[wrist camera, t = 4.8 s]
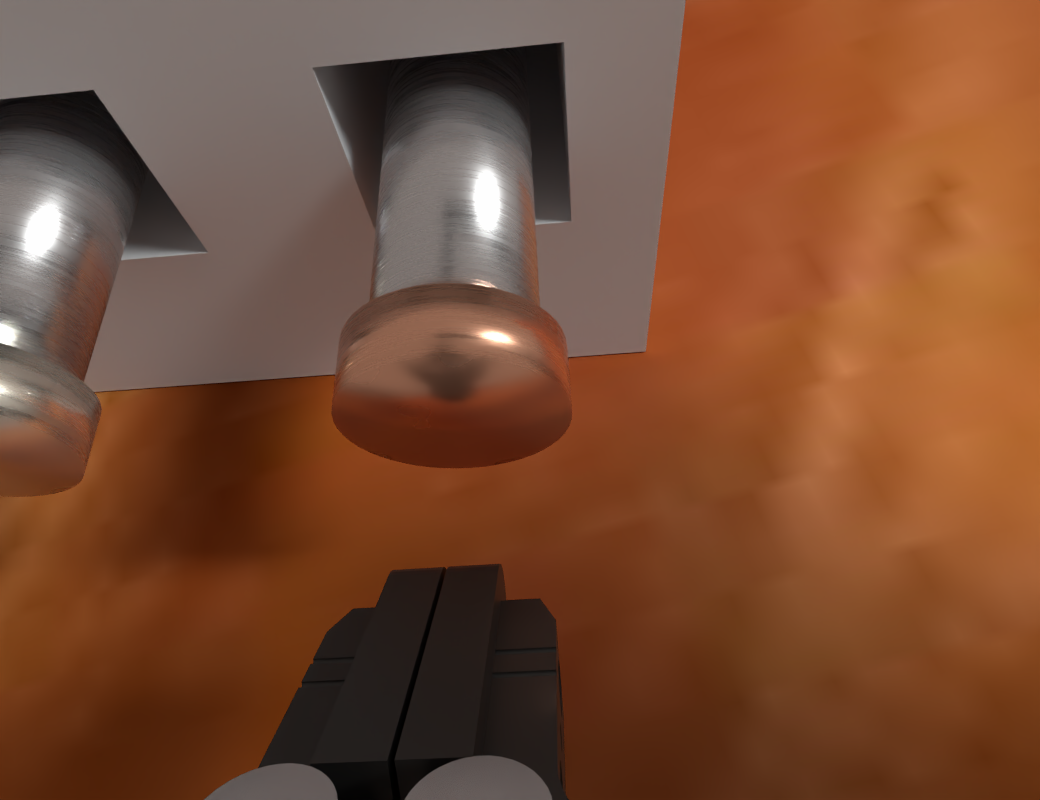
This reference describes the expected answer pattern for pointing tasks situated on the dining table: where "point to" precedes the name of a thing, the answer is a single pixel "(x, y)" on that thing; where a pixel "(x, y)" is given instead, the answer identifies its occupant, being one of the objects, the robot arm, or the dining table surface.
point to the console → (342, 163)
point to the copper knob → (454, 278)
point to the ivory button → (57, 277)
